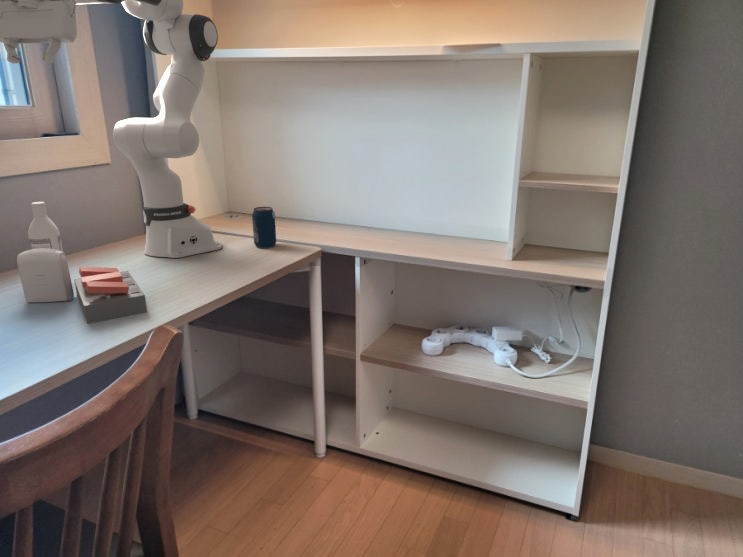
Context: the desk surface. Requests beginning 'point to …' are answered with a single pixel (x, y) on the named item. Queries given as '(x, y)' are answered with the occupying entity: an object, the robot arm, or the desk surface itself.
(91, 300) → the rocker switch panel
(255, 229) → the soda can
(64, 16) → the robot arm
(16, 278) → the desk surface
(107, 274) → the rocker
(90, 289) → the block
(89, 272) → the block
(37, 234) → the bath foam
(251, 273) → the desk surface
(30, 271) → the photo printer
